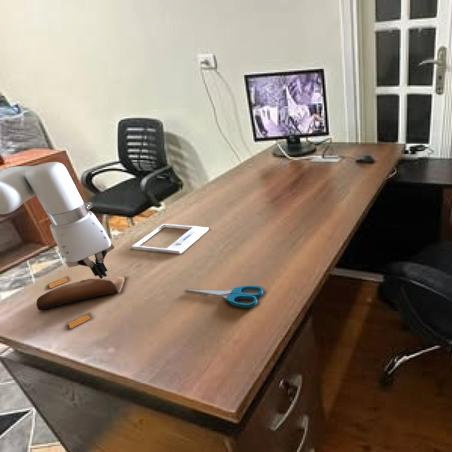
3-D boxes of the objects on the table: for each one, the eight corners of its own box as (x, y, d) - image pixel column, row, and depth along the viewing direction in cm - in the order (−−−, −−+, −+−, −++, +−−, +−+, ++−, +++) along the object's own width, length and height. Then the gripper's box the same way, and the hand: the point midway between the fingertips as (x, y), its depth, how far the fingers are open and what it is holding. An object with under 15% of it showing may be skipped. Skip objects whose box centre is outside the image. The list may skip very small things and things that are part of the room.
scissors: (252, 305, 80) (178, 297, 85) (253, 308, 80) (179, 300, 86) (264, 286, 86) (194, 280, 91) (265, 289, 86) (195, 283, 91)
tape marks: (70, 328, 80) (70, 328, 80) (48, 285, 96) (48, 284, 96) (90, 319, 82) (89, 318, 82) (65, 278, 98) (65, 277, 98)
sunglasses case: (126, 274, 96) (115, 264, 91) (126, 298, 93) (114, 289, 87) (52, 291, 92) (36, 281, 87) (49, 316, 89) (32, 308, 83)
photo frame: (179, 250, 104) (131, 245, 109) (180, 253, 104) (132, 248, 110) (207, 226, 116) (163, 223, 121) (208, 229, 117) (164, 226, 122)
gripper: (98, 199, 90) (126, 257, 99) (28, 223, 81) (66, 284, 90) (107, 206, 85) (136, 266, 94) (34, 232, 77) (74, 296, 86)
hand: (102, 275), depth 92 cm, fingers closed
